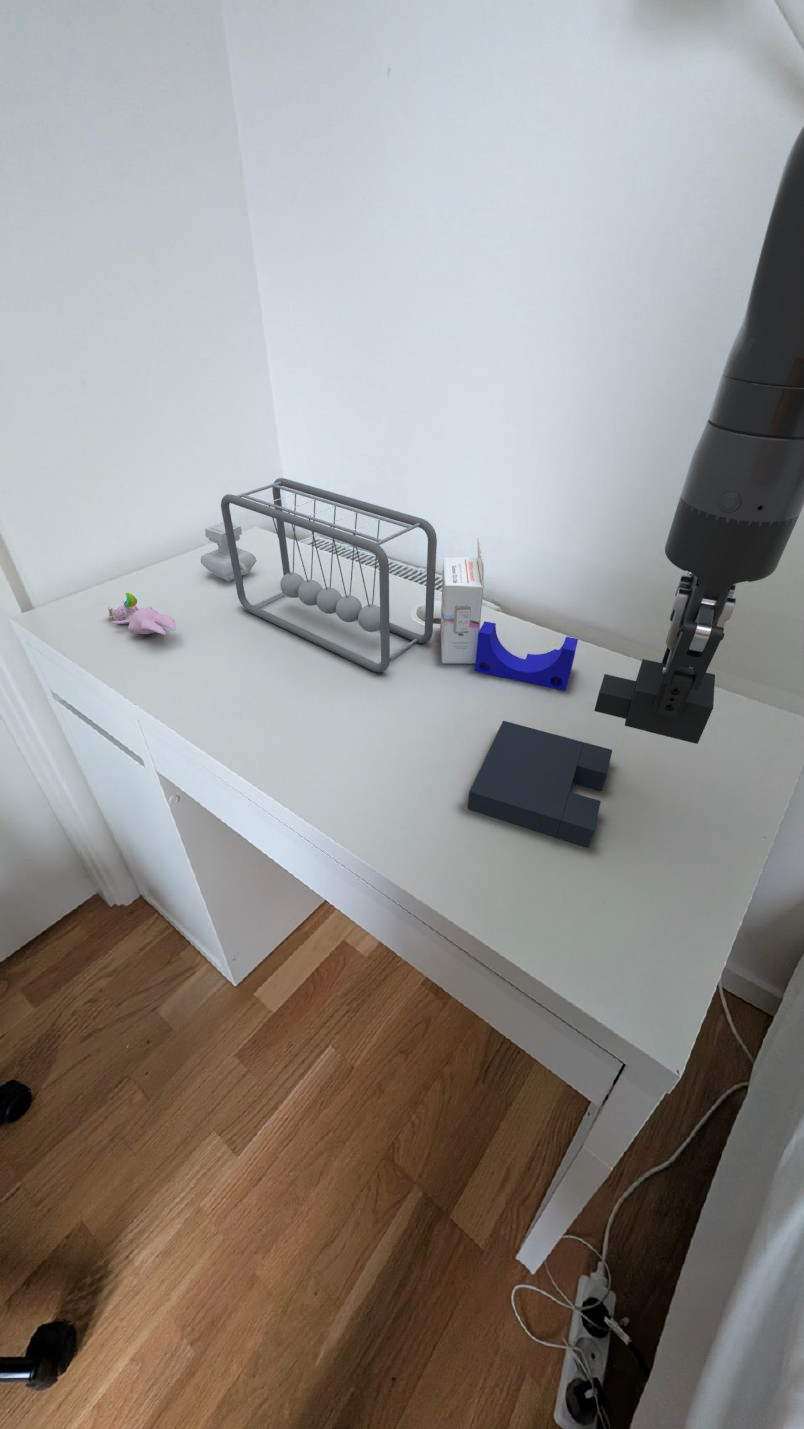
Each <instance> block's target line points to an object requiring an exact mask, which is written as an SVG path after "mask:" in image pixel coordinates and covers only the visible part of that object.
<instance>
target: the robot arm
mask: <svg viewBox="0 0 804 1429" xmlns="http://www.w3.org/2000/svg"><path fill="white" fill-rule="evenodd" d="M683 482H684V483H683V485H682V488H681V492H680V496H679V499H678V503H677V504H676V508H675V512H674V516H673V519H672V523H671V526H670V528H669V532H668V535H667V539H666V543H665V545H664V554H665V556H666V558H667V560H668V561H669V562H671V564H673V565H674V566H675V567H677V568H678V569H680V570H681V571H684V572H687V574H682V573H681V574H680V577H679V579H678V582H677V586H676V590H675V594H674V595H675V599H674V603H673V605H672V609H671V613H670V616H669V621H670V622H671V624H670V626H669V629H668V633H667V637H666V640H665V643H666V649H665V651H664V654H663V658H662V660H661V663H664V664H666V666H665V667H663V669H662V673H663V676H662V681H661V683H660V686H659V689H658V692H657V695H656V698H655V701H654V703H653V708H652V711H653V713H654V714H656V715H660V716H664V717H668V718H672V719H677V718H679V717H680V716H681V713H682V711H683V708H684V706H685V703H686V701H687V698H688V696H689V693H690V691H691V689H692V690H696V691H697V690H698V688H699V686H700V687H701V685H702V681H703V677H704V675H705V673H707V671H708V669H709V667H710V665H711V662H712V660H713V659H714V656H715V654H716V651H717V649H718V648H719V645H720V643H721V641H723V640H724V637H725V632H724V631H725V624H726V622H729V620H730V619H731V617H732V614H733V611H734V609H735V606H736V603H737V597H733V596H734V594H735V592H736V587H737V584H740V583H744V582H748V583H751V582H757V581H760V580H764V579H766V578H767V577H769V576H771V575H772V574H773V573H774V572H775V571H776V569H777V567H778V566H779V563H780V560H781V558H782V556H783V554H784V551H785V549H786V547H787V544H788V542H789V540H790V538H791V535H792V533H793V531H794V529H795V526H796V525H797V522H798V519H799V517H800V515H801V513H802V510H803V508H804V125H803V126H802V127H801V129H800V131H799V132H798V133H797V136H796V137H795V140H794V141H793V143H792V145H791V147H790V150H789V153H788V155H787V157H786V160H785V163H784V165H783V168H782V172H781V175H780V179H779V183H778V186H777V189H776V194H775V197H774V201H773V204H772V209H771V212H770V216H769V220H768V223H767V226H766V230H765V234H764V238H763V241H762V245H761V249H760V252H759V257H758V260H757V265H756V269H755V271H754V275H753V280H752V284H751V288H750V292H749V296H748V300H747V304H746V309H745V313H744V317H743V320H742V322H741V324H740V327H739V329H738V331H737V333H736V335H735V337H734V339H733V342H732V345H731V347H730V350H729V352H728V354H727V357H726V360H725V363H724V366H723V369H722V373H721V374H720V378H719V381H718V384H717V388H716V391H715V395H714V397H713V402H712V404H711V407H710V411H709V414H708V419H707V421H706V422H705V426H704V429H703V431H702V433H701V436H700V438H699V440H698V442H697V445H696V447H695V449H694V452H693V454H692V457H691V460H690V463H689V466H688V470H687V472H686V476H685V480H684V481H683Z"/></svg>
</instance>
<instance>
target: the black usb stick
mask: <svg viewBox="0 0 804 1429" xmlns="http://www.w3.org/2000/svg"><path fill="white" fill-rule="evenodd" d="M665 666H666V664H664V663H662V662H660V661H655V660H649V659H645V658H642V660H641V663H640V666H639V669H638V672H637V676H636V679H635V680H632V679H629V678H624V677H620V676H615V675H611V674H607V673H604V675H603V678H602V680H601V684H600V688H599V691H598V694H597V695H598V696H597V698H596V702H595V706H594V710H593V711H594V712H597V713H601V714H605V715H608V716H612V717H616V718H621V719H625V721H624V727H628V728H632V729H637V730H640V731H643V732H647V733H652V734H655V735H660V736H664V737H667V738H668V737H669V738H672V739H676V740H679V741H684V742H688V743H692V744H694V745H698V744H699V742H700V740H701V737H702V735H703V733H704V731H705V728H706V726H707V723H708V721H709V719H710V717H711V715H712V712H713V710H714V701H715V700H714V699H715V684H716V674H714V673H710V672H706V673H705V675H704V677H703V681H702V685H701V687H700V686H699V688H698V690H697V691H696V690H692V689H691V691H690V693H689V696H688V698H687V701H686V703H685V706H684V708H683V711H682V713H681V716H680V717H679V718H677V719H672V718H668V717H664V716H660V715H656V714H654V713H653V711H652V708H653V703H654V701H655V698H656V695H657V692H658V689H659V686H660V683H661V681H662V676H663V673H662V669H663V667H665Z"/></svg>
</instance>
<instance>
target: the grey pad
mask: <svg viewBox="0 0 804 1429" xmlns="http://www.w3.org/2000/svg"><path fill="white" fill-rule="evenodd" d="M612 754H613V749H611V748H607V747H603V746H600V745H596V744H592V743H588V742H584V741H581V740H578V739H574V738H570V737H567V736H563V735H558V734H555V733H552V732H547V731H545V730H544V731H543V730H540V729H536V728H532V727H528V726H526V725H521V724H518V723H513V722H510V721H507V720H502V722H501V724H500V726H499V728H498V731H497V732H496V734H495V737H494V739H493V741H492V743H491V745H490V748H489V749H488V751H487V753H486V756H485V758H484V760H483V762H482V764H481V766H480V768H479V770H478V773H476V777H475V778H474V781H473V783H472V785H471V787H470V790H469V792H468V801H467V809H468V810H470V811H474V812H477V813H480V814H483V815H487V816H490V817H491V818H496V819H499V820H501V821H505V822H508V823H511V824H514V825H518V826H521V827H523V828H526V829H529V830H533V831H535V832H539V833H542V834H546V835H547V836H552V837H555V838H557V839H561V840H564V841H567V842H570V843H573V844H576V845H579V846H582V847H585V848H590V845H591V842H592V838H593V835H594V832H595V829H596V825H597V820H598V815H599V810H600V807H601V803H602V801H601V800H599V799H595V798H593V797H589V796H585V795H582V794H579V793H575V792H572V791H571V789H572V786H573V784H575V785H576V784H577V785H581V786H583V787H587V788H591V789H593V790H597V791H601V792H602V791H603V788H604V786H605V785H604V784H605V782H606V778H607V775H608V772H609V768H610V764H611V759H612Z"/></svg>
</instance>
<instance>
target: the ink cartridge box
mask: <svg viewBox="0 0 804 1429" xmlns="http://www.w3.org/2000/svg"><path fill="white" fill-rule="evenodd" d="M484 564H485V563H484V557H483V551H482V546H481V540H480V537H479V536H478V537H477V557H443V558H442V580H441V582H442V583H441V605H440V607H441V608H440V621H439V622H440V623H439V624H440V625H439V626H440V627H439V634H440V635H439V636H440V652H441V654H440V655H441V664H442V665H443V664H475V663H476V653H477V643H478V633H479V631H480V629H481V619H482V610H483V598H484V581H485V580H484V577H485V576H484V574H485V572H484V570H485V569H484V566H485V565H484Z"/></svg>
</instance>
